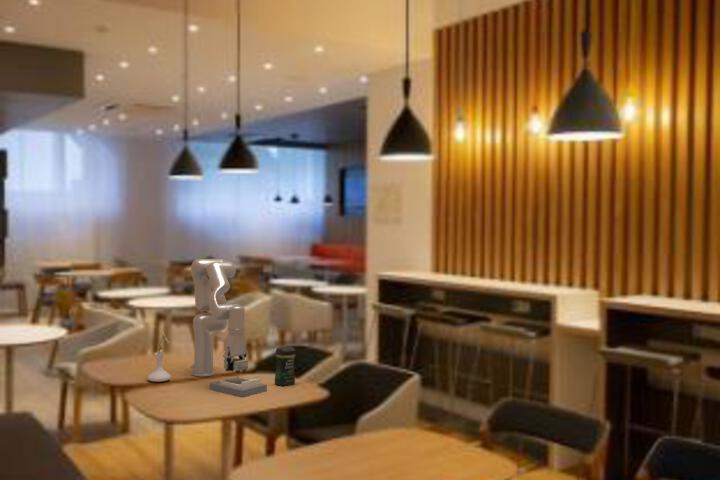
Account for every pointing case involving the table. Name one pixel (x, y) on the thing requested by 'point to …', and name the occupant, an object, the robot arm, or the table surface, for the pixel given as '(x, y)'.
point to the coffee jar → (285, 366)
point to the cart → (237, 365)
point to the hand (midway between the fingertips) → (235, 369)
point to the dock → (239, 386)
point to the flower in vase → (159, 366)
